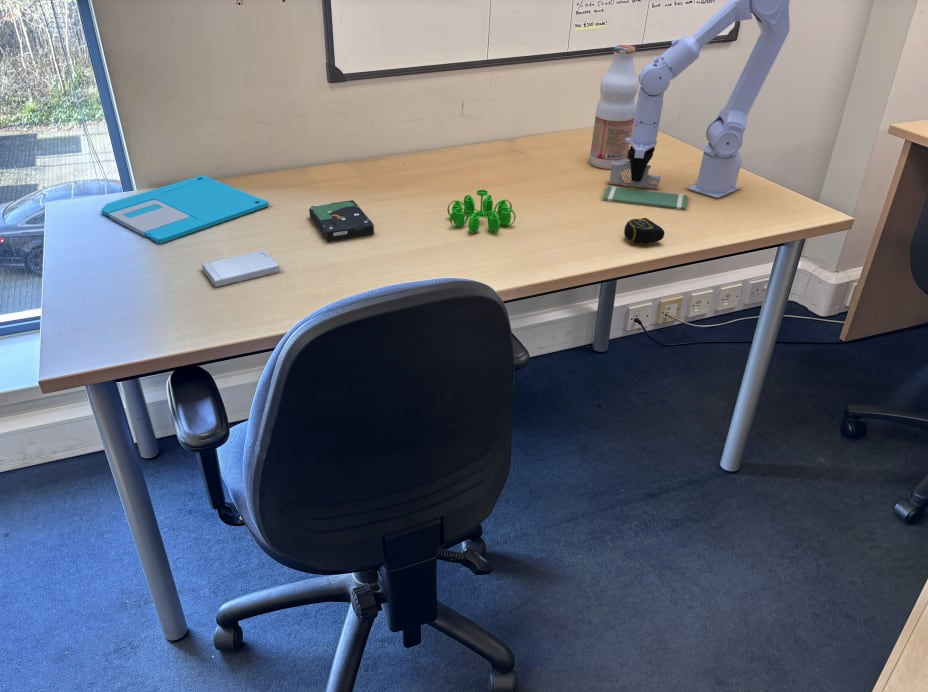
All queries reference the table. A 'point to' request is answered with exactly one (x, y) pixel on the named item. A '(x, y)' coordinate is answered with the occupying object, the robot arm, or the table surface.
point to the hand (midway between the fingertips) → (636, 179)
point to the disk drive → (341, 221)
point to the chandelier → (481, 213)
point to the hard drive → (240, 268)
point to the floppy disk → (181, 208)
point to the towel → (646, 198)
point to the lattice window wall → (620, 167)
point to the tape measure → (643, 231)
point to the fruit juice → (615, 110)
